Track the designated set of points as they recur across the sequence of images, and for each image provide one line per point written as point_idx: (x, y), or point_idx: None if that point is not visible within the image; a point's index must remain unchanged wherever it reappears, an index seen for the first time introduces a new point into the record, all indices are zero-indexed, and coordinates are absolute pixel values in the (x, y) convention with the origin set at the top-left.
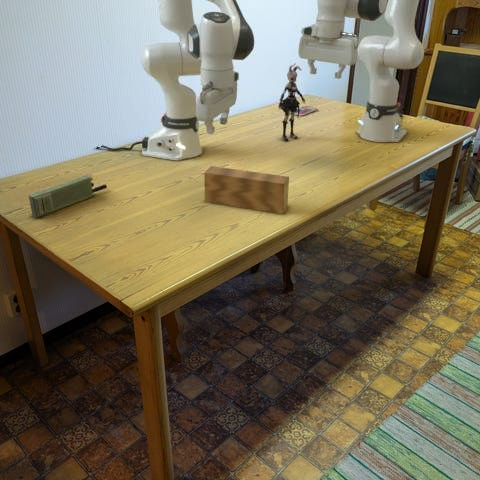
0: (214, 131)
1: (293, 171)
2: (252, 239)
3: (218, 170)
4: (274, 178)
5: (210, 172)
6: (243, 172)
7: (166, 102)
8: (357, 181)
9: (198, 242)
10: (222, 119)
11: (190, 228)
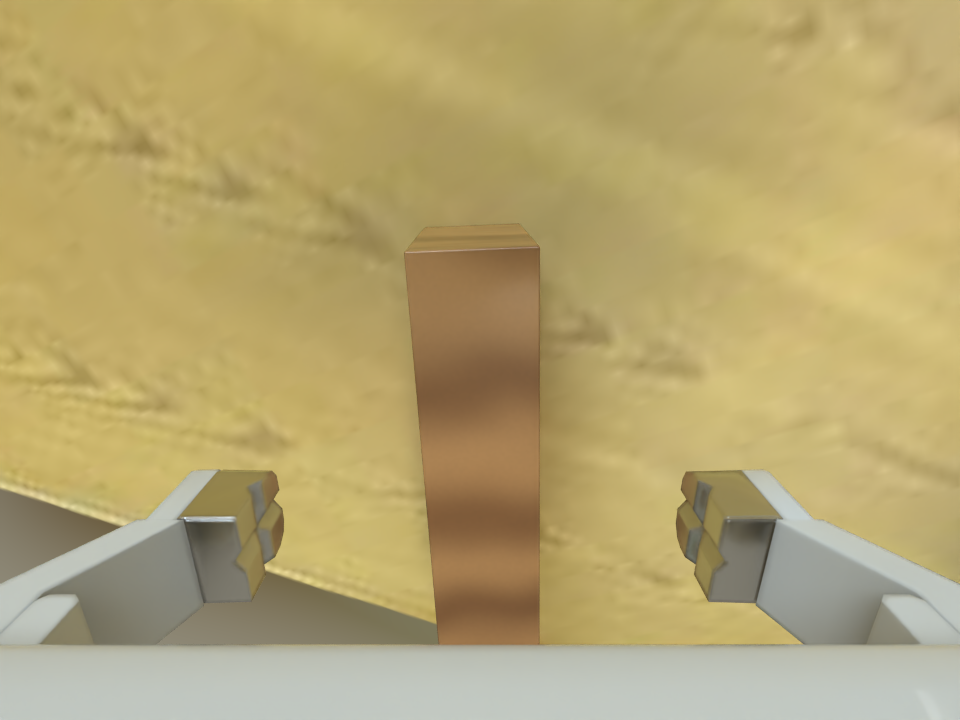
0: (275, 550)
1: (917, 487)
2: None
3: (477, 328)
4: (488, 630)
5: (422, 292)
6: (506, 475)
7: None
8: None
9: (64, 368)
10: (715, 542)
11: (144, 285)
